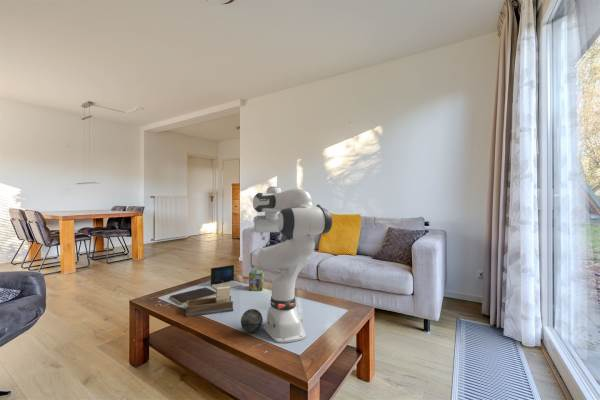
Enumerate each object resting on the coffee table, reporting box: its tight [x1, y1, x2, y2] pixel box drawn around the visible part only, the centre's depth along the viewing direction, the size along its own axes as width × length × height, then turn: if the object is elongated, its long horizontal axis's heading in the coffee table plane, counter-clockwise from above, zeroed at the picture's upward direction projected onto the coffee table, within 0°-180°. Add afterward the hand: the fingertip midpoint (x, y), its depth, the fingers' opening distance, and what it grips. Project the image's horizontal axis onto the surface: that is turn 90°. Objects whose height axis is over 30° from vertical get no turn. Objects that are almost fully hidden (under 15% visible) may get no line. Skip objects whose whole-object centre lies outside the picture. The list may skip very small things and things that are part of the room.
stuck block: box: [215, 285, 231, 303], centre depth 154 cm, size 7×7×10 cm
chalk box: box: [248, 266, 265, 291], centre depth 187 cm, size 9×9×15 cm
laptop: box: [210, 264, 243, 290], centre depth 191 cm, size 18×12×13 cm
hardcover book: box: [169, 287, 216, 306], centre depth 169 cm, size 16×23×2 cm
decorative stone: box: [240, 308, 264, 333], centre depth 126 cm, size 10×10×10 cm
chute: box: [185, 295, 234, 318], centre depth 151 cm, size 16×24×4 cm, turn 111°
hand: (271, 239), depth 153 cm, fingers open, 8 cm apart
